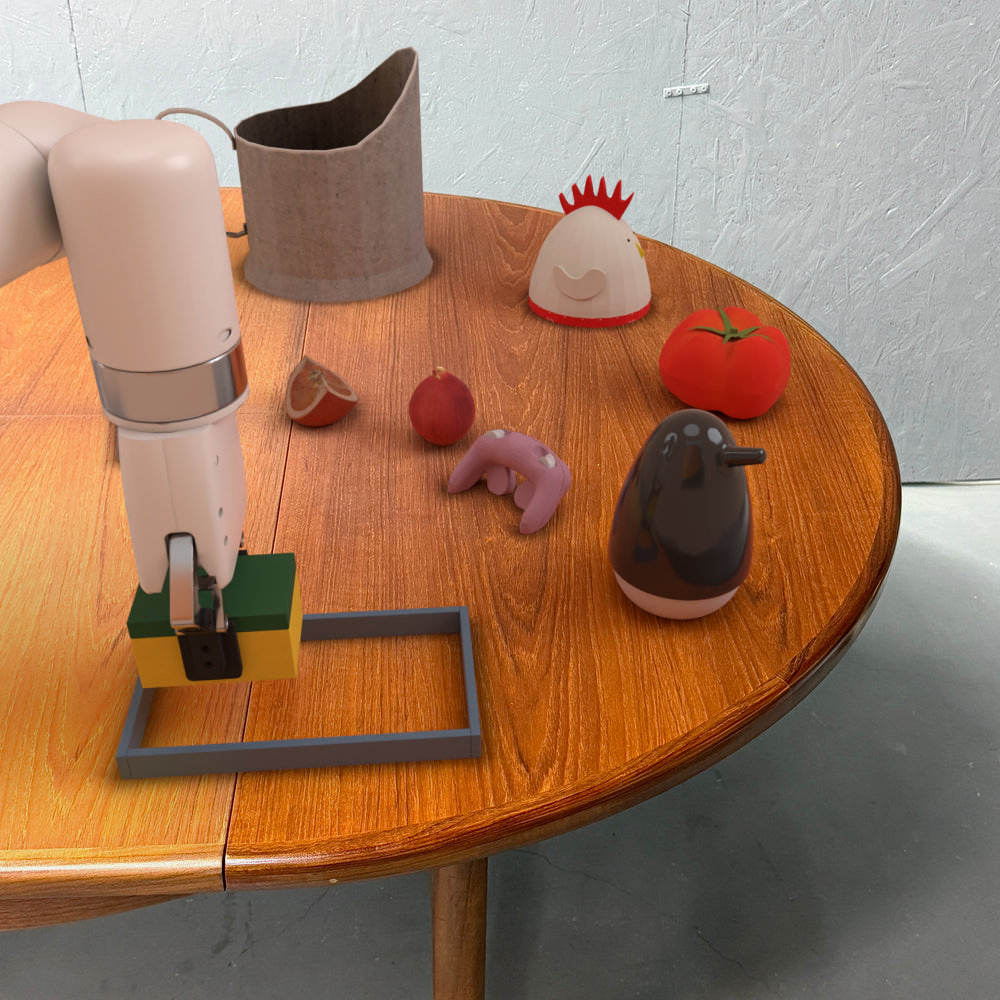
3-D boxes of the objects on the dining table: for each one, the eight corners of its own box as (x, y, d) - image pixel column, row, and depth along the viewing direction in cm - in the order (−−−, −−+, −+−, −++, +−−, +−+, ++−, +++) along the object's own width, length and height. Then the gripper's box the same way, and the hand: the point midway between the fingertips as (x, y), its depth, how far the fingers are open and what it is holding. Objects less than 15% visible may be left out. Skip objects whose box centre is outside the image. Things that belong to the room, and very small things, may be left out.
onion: (433, 424, 100) (431, 346, 96) (487, 440, 98) (487, 360, 93) (398, 452, 96) (394, 371, 91) (453, 469, 93) (451, 387, 89)
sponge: (142, 688, 63) (125, 622, 61) (160, 623, 68) (145, 560, 66) (296, 678, 64) (287, 613, 61) (302, 614, 69) (294, 552, 66)
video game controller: (559, 540, 87) (588, 460, 86) (524, 540, 84) (554, 457, 82) (474, 493, 93) (500, 417, 91) (438, 491, 89) (465, 412, 88)
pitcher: (452, 295, 126) (448, 70, 112) (173, 324, 118) (131, 87, 105) (413, 230, 144) (405, 30, 130) (169, 252, 137) (133, 42, 123)
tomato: (637, 380, 108) (644, 300, 103) (754, 369, 110) (765, 290, 105) (681, 442, 98) (690, 357, 93) (808, 429, 100) (824, 345, 95)
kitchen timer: (634, 339, 116) (645, 202, 108) (513, 322, 119) (514, 188, 111) (660, 292, 127) (671, 164, 119) (548, 278, 130) (551, 153, 122)
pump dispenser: (698, 663, 73) (726, 472, 64) (576, 599, 78) (586, 417, 70) (772, 592, 79) (806, 411, 71) (654, 538, 85) (672, 364, 76)
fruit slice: (278, 405, 103) (272, 357, 100) (346, 393, 105) (342, 346, 102) (298, 446, 97) (292, 397, 94) (370, 432, 99) (366, 384, 96)
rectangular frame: (123, 786, 63) (115, 757, 62) (159, 649, 74) (153, 621, 72) (481, 764, 65) (480, 734, 64) (468, 633, 75) (467, 605, 74)
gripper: (131, 310, 63) (182, 559, 73) (55, 462, 48) (132, 747, 58) (261, 305, 63) (295, 552, 73) (224, 454, 49) (272, 737, 59)
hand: (222, 636), depth 66 cm, fingers closed on sponge, 6 cm apart
